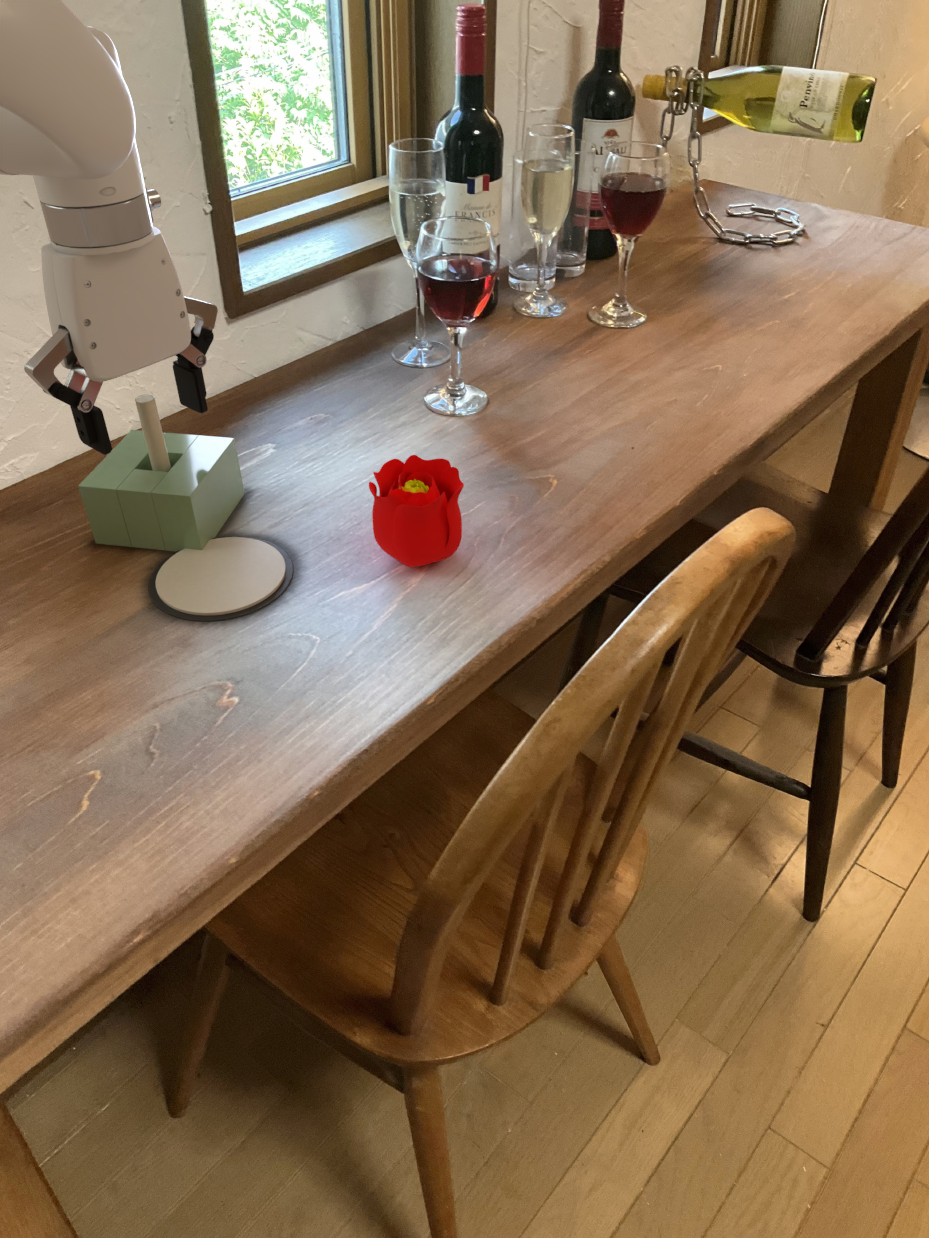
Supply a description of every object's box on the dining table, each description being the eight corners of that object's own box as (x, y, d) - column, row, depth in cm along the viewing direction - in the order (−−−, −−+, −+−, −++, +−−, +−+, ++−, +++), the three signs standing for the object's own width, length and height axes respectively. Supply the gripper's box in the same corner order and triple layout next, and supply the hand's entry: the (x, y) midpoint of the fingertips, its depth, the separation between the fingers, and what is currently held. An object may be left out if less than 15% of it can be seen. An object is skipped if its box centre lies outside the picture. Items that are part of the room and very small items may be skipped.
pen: (155, 523, 88) (124, 403, 80) (167, 509, 90) (137, 391, 82) (180, 526, 88) (151, 405, 80) (191, 512, 89) (163, 392, 82)
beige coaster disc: (124, 613, 78) (122, 609, 77) (184, 532, 87) (183, 527, 86) (265, 629, 76) (264, 624, 76) (311, 544, 85) (310, 539, 85)
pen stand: (95, 544, 86) (77, 485, 82) (145, 485, 93) (131, 429, 90) (203, 554, 84) (189, 496, 80) (245, 494, 92) (234, 438, 88)
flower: (393, 525, 87) (387, 446, 82) (475, 536, 86) (475, 457, 81) (364, 575, 81) (356, 493, 76) (452, 587, 80) (450, 506, 75)
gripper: (165, 188, 79) (203, 383, 89) (-36, 238, 69) (33, 452, 79) (223, 203, 75) (255, 405, 86) (18, 260, 65) (83, 481, 75)
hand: (148, 427), depth 82 cm, fingers open, 9 cm apart
